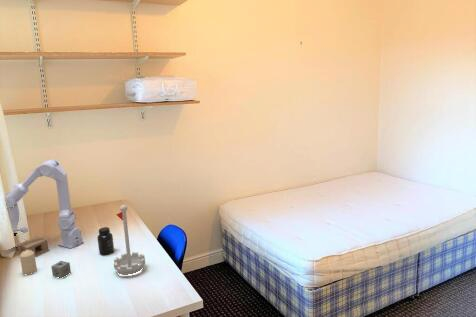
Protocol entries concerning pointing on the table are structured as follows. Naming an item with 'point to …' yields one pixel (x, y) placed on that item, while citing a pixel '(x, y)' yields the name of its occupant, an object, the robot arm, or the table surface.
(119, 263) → the flag stand
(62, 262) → the dice cube
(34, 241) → the block
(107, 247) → the supplement bottle
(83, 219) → the table surface
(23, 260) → the candle
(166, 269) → the table surface
